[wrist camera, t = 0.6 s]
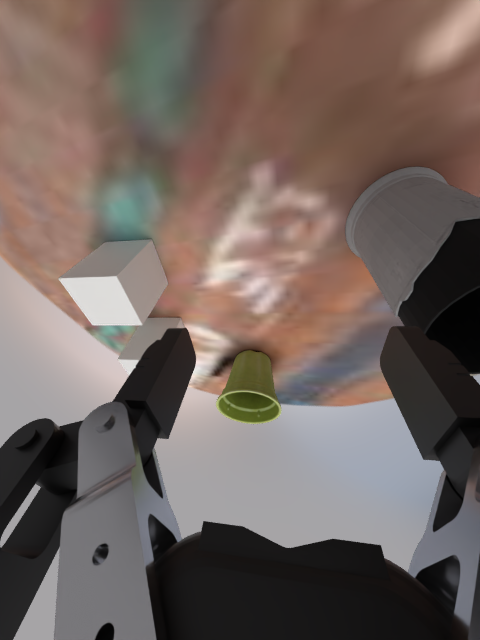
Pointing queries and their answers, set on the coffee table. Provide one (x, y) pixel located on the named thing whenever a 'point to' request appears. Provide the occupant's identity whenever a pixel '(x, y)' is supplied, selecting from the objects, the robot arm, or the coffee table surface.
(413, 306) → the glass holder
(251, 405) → the plant pot
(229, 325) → the coffee table surface
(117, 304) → the left white block
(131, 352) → the light grey rectangular block
